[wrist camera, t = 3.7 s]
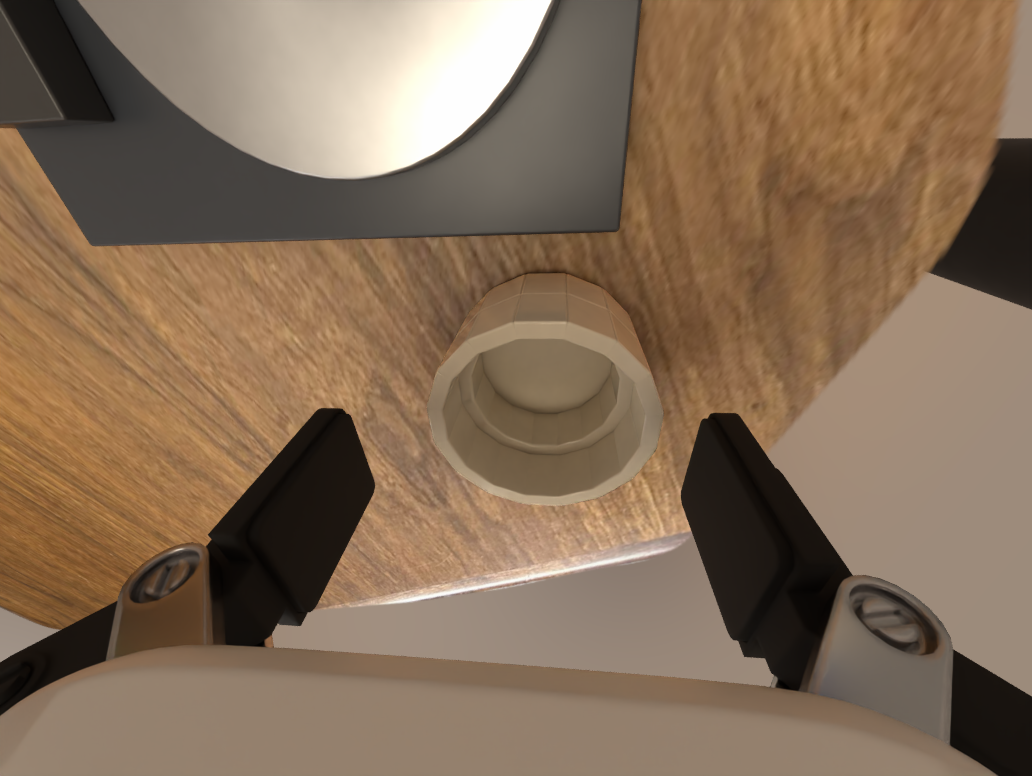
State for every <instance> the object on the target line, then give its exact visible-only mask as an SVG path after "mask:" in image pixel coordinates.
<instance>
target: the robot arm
mask: <svg viewBox="0 0 1032 776" xmlns="http://www.w3.org/2000/svg"><path fill="white" fill-rule="evenodd" d="M374 489H375V482H374V479H373V476H372V473H371V470H370V467H369V465H368V462H367V459H366V456H365V454H364V451H363V448H362V445H361V442H360V440H359V437H358V434H357V431H356V428H355V426H354V423H353V420H352V418H351V416H350V415H349V414H346V413H345V411H344V410H343V409H340V408H321V409H318V410H317V411H316V412H315V413H314V414H313V415H312V417H311V418H310V419H309V420H308V421H307V422H306V423H305V425H304V426H303V427H302V428H301V429H300V430H299V431H298V433H297V434H296V435H295V436H294V437H293V438H292V439H291V441H290V442H289V443H288V444H287V445H286V446H285V447H284V448H283V450H282V451H281V452H280V453H279V454H278V455H277V456H276V458H275V459H274V460H273V461H272V462H271V463H270V464H269V466H268V467H267V468H266V469H265V470H264V471H263V472H262V474H261V475H260V476H259V477H258V478H257V479H256V480H255V482H254V483H253V484H252V485H251V486H250V487H249V488H248V490H247V491H246V492H245V493H244V494H243V495H242V496H241V498H240V499H239V500H238V501H237V502H236V503H235V504H234V506H233V507H232V508H231V509H230V510H229V511H228V512H227V514H226V515H225V516H224V517H223V518H222V519H221V520H220V522H219V523H218V524H217V525H216V526H215V527H214V528H213V530H212V531H211V532H210V533H209V534H208V535H209V537H210V538H211V539H212V540H211V541H210V542H209V544H208V545H207V546H206V547H205V546H203V545H202V544H200V543H193V542H191V543H185V544H180V545H177V546H174V547H171V548H168V549H166V550H164V551H162V552H161V553H159V554H157V555H155V556H153V557H152V558H151V559H149V560H148V561H146V562H145V563H144V564H142V565H141V566H140V567H139V568H138V569H137V570H136V571H135V572H134V573H133V574H131V576H130V577H129V578H128V580H127V581H126V582H125V584H124V585H123V586H122V589H121V591H120V594H119V596H118V601H116V602H114V603H112V604H110V605H109V606H107V607H105V608H103V609H101V610H99V611H97V612H95V613H93V614H91V615H89V616H87V617H85V618H83V619H81V620H79V621H78V622H76V623H74V624H72V625H70V626H68V627H66V628H64V629H62V630H60V631H58V632H56V633H54V634H52V635H50V636H48V637H47V638H45V639H43V640H41V641H39V642H37V643H35V644H33V645H31V646H29V647H27V648H25V649H23V650H21V651H19V652H17V653H16V654H14V655H12V656H10V657H8V658H7V659H5V660H3V661H2V662H0V776H1032V696H1030V695H1028V694H1026V693H1025V692H1023V691H1021V690H1020V689H1018V688H1017V687H1015V686H1013V685H1012V684H1010V683H1008V682H1007V681H1005V680H1003V679H1002V678H1000V677H998V676H997V675H995V674H993V673H992V672H990V671H988V670H987V669H985V668H983V667H982V666H980V665H978V664H977V663H975V662H973V661H972V660H970V659H968V658H967V657H965V656H963V655H962V654H960V653H958V652H957V651H955V650H953V647H952V642H951V638H950V636H949V634H948V632H947V630H946V629H945V627H944V625H943V624H942V622H941V621H940V620H939V619H938V618H937V616H936V615H935V614H934V613H933V612H932V611H931V610H930V609H929V608H928V607H927V606H926V605H925V604H923V603H922V602H921V601H920V600H918V599H917V598H916V597H915V596H913V595H912V594H910V593H909V592H907V591H905V590H903V589H902V588H900V587H899V586H897V585H895V584H892V583H890V582H887V581H885V580H882V579H880V578H876V577H871V576H866V575H857V576H856V575H855V576H853V575H852V574H851V572H850V571H849V569H848V568H847V566H846V565H845V563H844V562H843V561H842V559H841V558H840V556H839V555H838V553H837V552H836V550H835V549H834V548H833V546H832V545H831V543H830V542H829V540H828V539H827V538H826V536H825V535H824V533H823V532H822V530H821V529H820V527H819V526H818V525H817V523H816V522H815V520H814V519H813V517H812V516H811V514H810V513H809V512H808V510H807V509H806V507H805V506H804V504H803V503H802V502H801V500H800V499H799V497H798V496H797V494H796V493H795V491H794V490H793V488H792V487H791V485H790V484H789V483H788V481H787V480H786V478H785V477H784V475H783V474H782V473H781V472H780V471H779V470H778V469H777V468H775V467H774V465H773V464H772V463H771V461H770V460H769V458H768V457H767V455H766V454H765V452H764V451H763V449H762V448H761V446H760V445H759V443H758V442H757V441H756V439H755V438H754V436H753V435H752V433H751V432H750V430H749V429H748V427H747V426H746V424H745V423H744V421H743V420H742V419H741V417H740V416H739V415H738V414H736V413H712V414H710V415H709V417H708V419H703V420H702V421H701V423H700V427H699V430H698V434H697V437H696V441H695V444H694V448H693V451H692V455H691V458H690V462H689V465H688V469H687V472H686V476H685V479H684V483H683V486H682V490H681V501H682V506H683V508H684V511H685V514H686V517H687V520H688V522H689V525H690V528H691V531H692V534H693V536H694V539H695V542H696V544H697V547H698V550H699V553H700V556H701V559H702V561H703V564H704V567H705V570H706V573H707V575H708V578H709V581H710V584H711V587H712V589H713V592H714V595H715V598H716V601H717V603H718V606H719V609H720V612H721V615H722V617H723V620H724V623H725V626H726V628H727V631H728V633H729V635H730V637H731V638H732V639H733V640H737V641H739V644H740V647H741V650H742V652H743V655H744V657H754V658H765V659H766V662H767V664H768V667H769V669H770V671H771V673H772V674H773V675H774V677H773V680H772V683H771V686H770V687H766V686H757V685H747V684H737V683H727V682H717V681H706V680H696V679H685V678H675V677H664V676H650V675H639V674H626V673H614V672H601V671H589V670H575V669H563V668H552V667H551V668H550V667H538V666H525V665H512V664H499V663H486V662H472V661H459V660H445V659H433V658H418V657H406V656H391V655H376V654H362V653H348V652H334V651H320V650H304V649H290V648H274V646H273V639H272V632H273V631H274V629H275V627H276V625H277V624H280V625H292V626H301V624H302V622H303V621H304V618H305V617H306V615H307V613H308V612H311V611H313V609H314V608H315V607H316V605H317V604H318V602H319V600H320V598H321V596H322V594H323V592H324V590H325V588H326V586H327V584H328V582H329V580H330V578H331V576H332V574H333V572H334V570H335V568H336V566H337V564H338V562H339V560H340V558H341V556H342V554H343V552H344V551H345V549H346V547H347V545H348V543H349V541H350V539H351V537H352V535H353V533H354V531H355V529H356V527H357V525H358V523H359V521H360V519H361V517H362V515H363V513H364V511H365V509H366V507H367V505H368V503H369V501H370V499H371V497H372V495H373V493H374Z"/></svg>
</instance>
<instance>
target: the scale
mask: <svg viewBox="0 0 1032 776" xmlns="http://www.w3.org/2000/svg"><path fill="white" fill-rule="evenodd" d="M641 4H642V0H0V128H16V129H17V130H18V132H19V133H20V135H21V137H22V138H23V140H24V141H25V143H26V144H27V146H28V148H29V149H30V151H31V152H32V154H33V155H34V157H35V159H36V160H37V162H38V163H39V165H40V166H41V168H42V170H43V171H44V173H45V174H46V176H47V177H48V179H49V181H50V182H51V184H52V185H53V187H54V188H55V190H56V192H57V193H58V195H59V196H60V198H61V199H62V201H63V202H64V204H65V206H66V207H67V209H68V210H69V212H70V213H71V215H72V217H73V218H74V220H75V221H76V223H77V224H78V226H79V228H80V229H81V231H82V232H83V234H84V235H85V237H86V239H87V240H88V242H89V243H90V244H91V245H92V246H125V245H161V244H198V243H234V242H271V241H308V240H344V239H381V238H417V237H454V236H491V235H527V234H564V233H601V232H617V231H618V230H619V228H620V217H621V207H622V197H623V187H624V177H625V167H626V157H627V146H628V136H629V126H630V116H631V106H632V96H633V86H634V75H635V65H636V55H637V45H638V35H639V25H640V15H641Z"/></svg>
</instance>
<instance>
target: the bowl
mask: <svg viewBox="0 0 1032 776" xmlns="http://www.w3.org/2000/svg"><path fill="white" fill-rule="evenodd" d="M427 412H428V417H429V422H430V426H431V431H432V435H433V440H434V442H435V444H436V446H437V447H438V448H439V450H440V451H441V452H442V454H443V455H444V457H445V458H446V459H447V461H448V462H449V463H450V465H451V466H452V467H453V469H454V470H455V471H456V472H457V473H459V474H460V475H462V476H463V477H464V478H466V479H467V480H469V481H470V482H472V483H473V484H475V485H476V486H478V487H479V488H481V489H482V490H484V491H485V492H487V493H490V494H493V495H496V496H499V497H502V498H505V499H508V500H511V501H514V502H517V503H520V504H530V505H549V506H561V505H562V506H565V505H569V504H574V503H578V502H583V501H587V500H592V499H597V498H599V497H602V496H604V495H606V494H607V493H609V492H611V491H613V490H614V489H616V488H618V487H620V486H621V485H623V484H625V483H627V482H628V481H630V480H632V478H634V477H635V476H636V474H637V473H638V472H639V471H640V469H641V468H642V467H643V466H644V464H645V463H646V462H647V461H648V460H649V458H650V457H651V456H652V455H653V453H654V452H655V450H656V449H657V445H658V440H659V435H660V431H661V426H662V421H663V417H664V413H663V412H664V410H663V407H662V404H661V401H660V397H659V394H658V391H657V388H656V385H655V382H654V379H653V376H652V373H651V370H650V368H649V365H648V363H647V360H646V357H645V355H644V352H643V350H642V347H641V345H640V342H639V339H638V337H637V334H636V332H635V329H634V327H633V324H632V321H631V319H630V317H629V315H628V313H627V312H626V311H625V310H624V309H623V308H622V307H621V306H620V305H619V304H618V303H617V302H616V301H615V300H614V298H613V297H612V296H611V295H610V294H609V293H608V292H607V291H606V290H605V289H602V288H601V287H599V286H597V285H594V284H592V283H589V282H587V281H584V280H582V279H579V278H577V277H574V276H572V275H569V274H567V275H566V274H565V273H542V274H526V275H522V276H519V277H517V278H515V279H513V280H510V281H508V282H506V283H503V284H501V285H499V286H497V287H494V288H492V289H491V291H488V293H487V294H486V295H485V296H484V297H483V298H482V299H481V300H480V301H479V302H478V303H477V305H476V306H475V307H474V308H473V309H472V310H471V311H470V312H469V313H468V315H467V317H466V318H465V320H464V322H463V324H462V326H461V327H460V329H459V331H458V333H457V335H456V337H455V339H454V340H453V342H452V344H451V346H450V348H449V349H448V351H447V353H446V355H445V357H444V359H443V360H442V362H441V364H440V366H439V368H438V370H437V371H436V374H435V378H434V381H433V385H432V388H431V392H430V395H429V399H428V403H427Z"/></svg>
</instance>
